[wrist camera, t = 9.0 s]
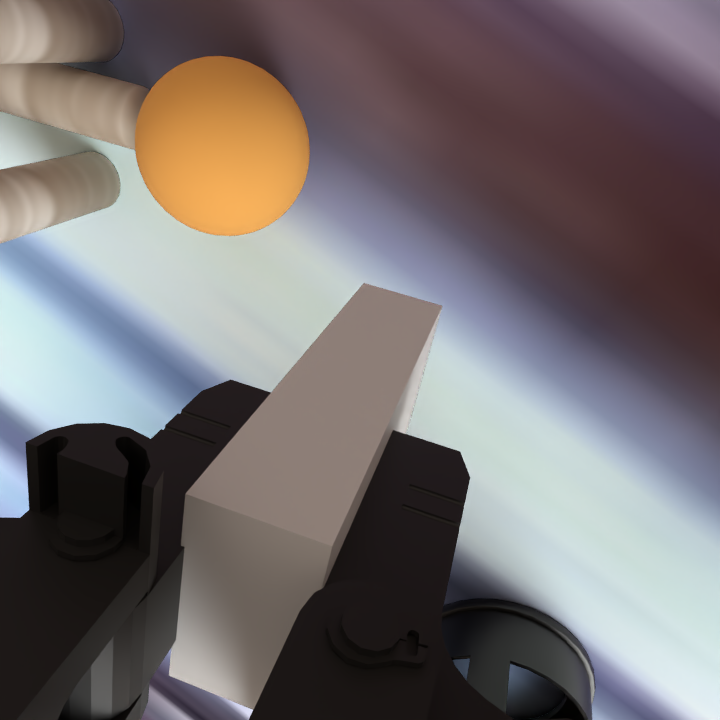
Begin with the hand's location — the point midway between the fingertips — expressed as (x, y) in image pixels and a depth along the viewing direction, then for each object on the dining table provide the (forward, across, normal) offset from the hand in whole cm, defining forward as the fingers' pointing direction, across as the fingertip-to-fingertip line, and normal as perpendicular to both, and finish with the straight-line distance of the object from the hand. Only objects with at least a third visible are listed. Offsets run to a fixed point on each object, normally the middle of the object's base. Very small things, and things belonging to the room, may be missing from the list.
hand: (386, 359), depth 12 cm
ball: (+11, +9, 0) cm, 14 cm away
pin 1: (+14, +16, -3) cm, 21 cm away
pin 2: (+14, +16, +3) cm, 21 cm away
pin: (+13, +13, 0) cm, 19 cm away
